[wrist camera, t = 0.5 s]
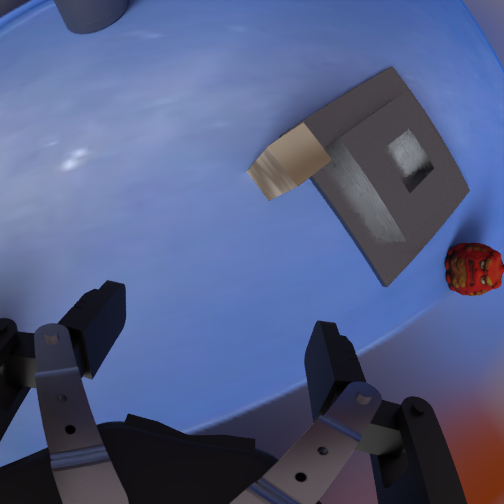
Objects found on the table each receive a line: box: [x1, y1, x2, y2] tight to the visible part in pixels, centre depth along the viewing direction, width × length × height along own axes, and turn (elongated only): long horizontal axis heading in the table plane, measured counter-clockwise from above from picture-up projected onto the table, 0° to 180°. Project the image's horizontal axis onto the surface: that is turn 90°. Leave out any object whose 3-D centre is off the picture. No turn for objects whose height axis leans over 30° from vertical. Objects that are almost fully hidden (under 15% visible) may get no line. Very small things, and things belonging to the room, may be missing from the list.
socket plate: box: [279, 67, 470, 287], centre depth 35 cm, size 22×22×4 cm
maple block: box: [247, 122, 332, 201], centre depth 29 cm, size 4×4×10 cm
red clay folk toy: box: [445, 243, 504, 296], centre depth 33 cm, size 8×7×15 cm
